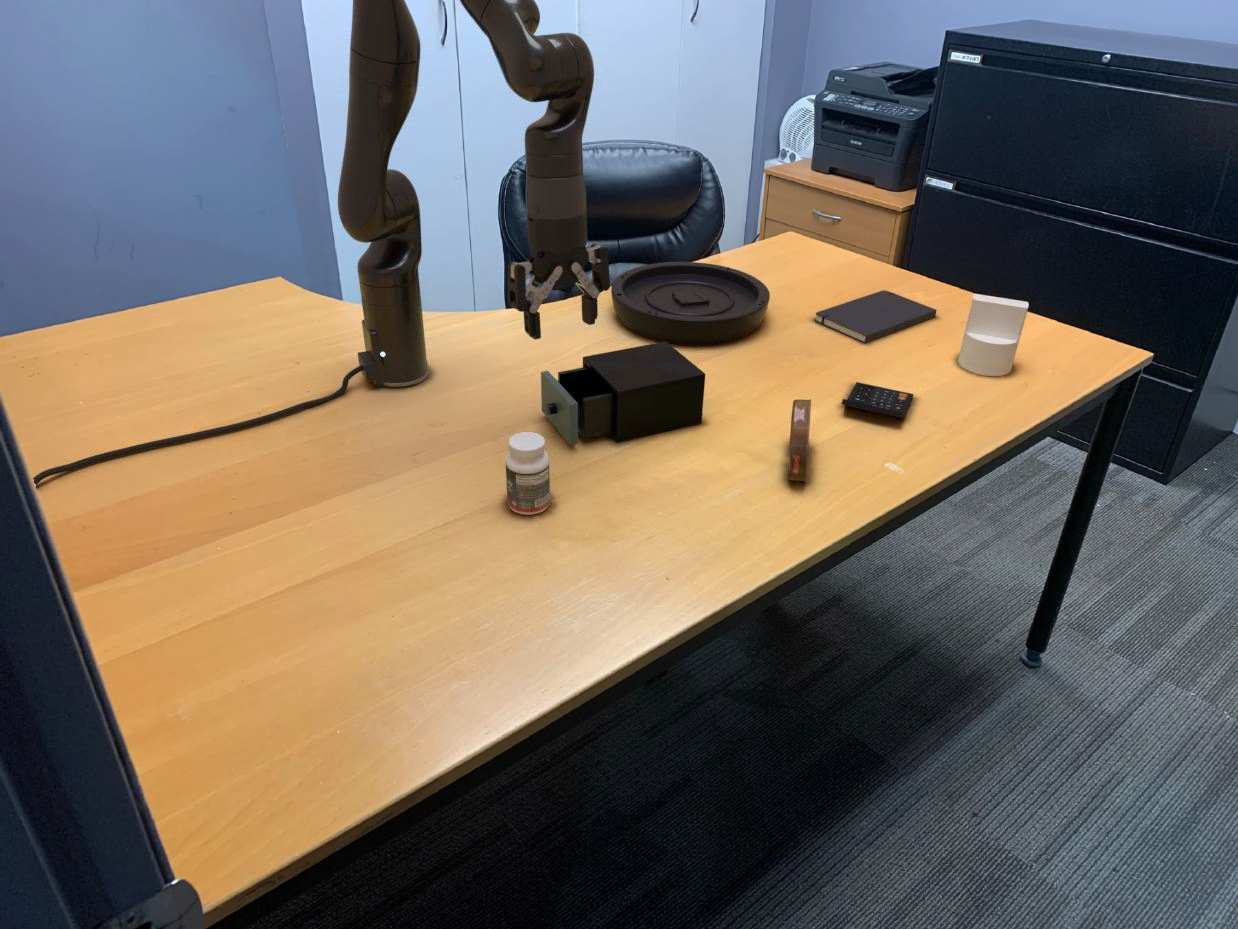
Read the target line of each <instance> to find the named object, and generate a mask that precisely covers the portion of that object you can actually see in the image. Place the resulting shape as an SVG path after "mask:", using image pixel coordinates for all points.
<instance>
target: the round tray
mask: <svg viewBox="0 0 1238 929" xmlns="http://www.w3.org/2000/svg"><path fill="white" fill-rule="evenodd" d="M610 292H611V299H612V305H613V309H614V310H615V313H616V316H617V317H618V318H619V320H620V321H621V323H622V324H623V325H624V326H625V327H626V328H627V329H629V330H630V331H632V332H633V333H636V334H638V335H640V336H642V337H644V338H646V339H651V340H653V341H657V342H665V341H666V342H667V343H668V344H673V345H681V346H711V345H718V344H719V345H720V344H724V343H730V342H734V341H736V340H739V339H742V338H743V337H746V336H748V335H749V334H751V333H752V332H753V331H754V330H756V329H757V328H758V327H759V325H760V324H761V323H762V321H763V319H764V317H765V315H766V312H767V309H768V306H769V303H770V298H771V294H770V291H769V289H768V287H767V285H765V283H764V282H762V281H761V280H760V279H759V278H757V277H756V276H753V275H751V274H749V273H747V272H744V271H741V270H739V269H735V268H733V267H730V266H724V265H719V264H713V263H708V262H707V263H706V262H697V261H695V262H694V261H667V262H666V261H664V262H656V263H649V264H645V265H640V266H636V267H633V268H631V269H629V270H626V271H624V272H622V273H621V274H619V275H618V276H617V277H615V279H614V280H613V282H612V283H611V285H610Z"/></svg>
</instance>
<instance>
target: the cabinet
mask: <svg viewBox="0 0 1238 929" xmlns="http://www.w3.org/2000/svg"><path fill="white" fill-rule="evenodd" d="M583 367H589V368H590V369H591V370H592V371H593V372H594V373H595V374H596V375H597V376H598V377H599V378H600V379H601V380H602V381H603V382H604V383H605V384H606V385H607V386H608V387H609V388H610V389H611V390H612V391H613V392H614V393H615V394H616V401H615V432H610V433H607V434H608V435H609V436H610V438H612V440H614V442H615V443H617V444H618V443H622V442H627V441H632V440H636V439H639V438H644V437H645V438H646V437H649V436H652V435H657V434H663V433H667V432H671V431H676V430H680V429H684V428H688V427H692V426H697V425H701V424H702V420H703V411H704V410H703V409H704V398H705V384H706V373H705V372H704V371H703V370H701V369H700V368H699V367H698V366H697V365H695V363H693V362H692V361H691V360H689V359H688V358H687V357H685V356H684V355H683V354H682V353H681V352H679V351H678V350H677V349H676V348H675V347H674V346H672V345H671V343H667V342H666V341H665V342H661V341H659V342H655V343H650V344H645V345H638V346H633V347H627V348H622V349H618V350H613V351H606V352H600V353H596V354H590V355H584V356H583V357H582V368H583Z"/></svg>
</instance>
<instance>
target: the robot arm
mask: <svg viewBox="0 0 1238 929" xmlns="http://www.w3.org/2000/svg"><path fill="white" fill-rule="evenodd" d="M459 2H460V3H461V6H462V7H463V8H464V10H465V11H466V12H467V14H468V16H470V18H471V19H472V20H473V21H474V23H475V24H476V25H477V27H478V28H479V29H480V30H481V32H482V33H483V35H485V36H486V38H487V39H488V41H489V43H490V46H491V48H492V51H493V54H494V56H495V58H496V60H497V63H498V66H499V69H500V70H501V74H502V77H503V78H504V80H505V82H506V84H507V86H508V87H509V88H510V91H512V92H513V93H514V94H515V95H516V96H517V97H519V98H520V99H522V100H525V101H527V102H530V103H543V102H547V101H548V102H547V106H546V109H545V113H544V114H543V115H542V116H541V117H540V118H538V119H537V120H535V121H534V122H532V123H530V124H528V126H527V127H526V128H525V132H524V160H525V172H526V176H525V178H526V179H525V180H526V181H525V206H526V223H527V239H528V240H527V241H528V247H529V251H530V255H529V259H528V261H521V262H516V261H514V260H511V261H509V262H508V263H507V301H508V302H507V304H508V306H509V307H511V308H513V309H515V310H516V311H518V312H521V313H522V312H523V326H524V331H525V333H526V334H527V335H528V336H529V337H530V338H532V339H533V340H540V339H541V338H542V328H541V313H540V312H539V309H540V307H541V305H542V304H543V301H544V300H546V299H547V298H548V297H549V295H550V293H551V291H559V290H561V289H562V288H572V287H575V285H576V286H577V288H578V289H579V290H580V291H581V292H582V293H583V294H581V296H580V297H581V299H580V300H581V319H582V322H583V323H584V324H586V325H588V326H592V325H595V324H596V320H597V319H598V315H599V314H598V313H599V312H598V311H599V310H598V309H599V308H598V297H599V296H600V294H601V293H603V292H607V291H609V290H610V289H611V279H610V278H611V276H610V263H609V250H608V248H607V247H604V246H603V245H600V244H597V243H592V244H590V247H588V248H587V244H588V218H587V216H588V215H587V213H588V212H587V190H586V189H587V188H586V184H585V176H584V156H583V154H584V152H583V151H584V150H583V135H584V132H585V126H586V122H587V119H588V113H589V108H590V103H591V99H592V94H593V90H594V82H595V64H594V60H593V56H592V52H591V50H590V48H589V46H588V44H587V43H586V41H585V40H584V39H583V38H582V37H581V36H579V35H578V34H576V33H574V32H573V33H572V32H559V33H550V34H540V35H535V34H536V32H537V30H538V28H539V25H540V22H541V21H540V20H541V11H540V8H539V6H538V4H537V2H536V0H459ZM351 19H352V20H351V31H350V43H349V45H350V46H349V63H348V65H349V66H348V67H349V68H348V72H349V73H348V87H349V88H348V100H347V102H348V103H347V114H346V115H347V116H346V129H345V130H346V132H345V143H344V150H343V157H342V162H341V170H340V176H339V181H338V182H339V183H338V191H337V211H338V216H339V220H340V222H341V225H342V227H343V229H344V231H345V232H346V234H348V235H349V236H350V237H351V239H353V240H355V241H357V242H359V243H364V244H365V243H366V244H367V243H369V245H368V247H367V249H366V250H365V251H364V253H363V254H362V255H361V256H360V258H359V259H358V261H357V267H356V268H357V276H358V282H359V291H360V297H361V304H362V305H361V306H362V313H363V319H362V321H361V328H362V334H363V342H364V348H365V349H364V350H365V351H358V352H357V358H358V366H356V367H355V368H353V369H351V370H350V371H349V372H347V373H346V374H345V376H344V377H343V379H342V382H341V387H340V388H338V390H336V391H335V392H333V393H332V394H330V395H328V396H325V397H322V398H317V399H312V400H307V401H304V402H300V403H298V404H296V405H292V406H290V407H286V408H284V409H280V410H278V411H275V412H272V413H268V414H265V415H262V416H258V417H256V418H252V419H248V420H244V421H240V422H236V423H232V424H227V425H224V426H218V427H215V428H210V429H204V430H200V431H197V432H191V433H187V434H186V433H185V434H182V435H177V436H173V437H167V438H162V439H157V440H152V441H149V442H144V443H140V444H135V445H131V446H127V447H122V448H119V449H114V450H111V451H106V452H103V453H102V452H101V453H98V454H96V455H91V456H88V457H85V458H83V459H79V460H76V461H73V462H70V463H67V464H63V465H59V466H55V467H51V468H48V469H45V470H43V471H41V472H40V473H38V474H36V475H35V476H33V477H32V479H34V483H35V484H36V486H37V485H38V484H39V483H40V482H41V481H43V480H44V479H46V478H48V477H52V476H53V475H54V476H55V475H57V474H62V473H64V472H69V471H73V470H75V469H79V468H82V467H84V466H87V465H89V464H91V465H92V464H93V463H96V462H97V463H98V462H101V461H105V460H108V459H112V458H117V457H121V456H125V455H128V454H132V453H137V452H140V451H145V450H149V449H153V448H158V447H163V446H168V445H173V444H178V443H183V442H187V441H193V440H197V439H201V438H205V437H210V436H215V435H218V434H223V433H228V432H233V431H236V430H241V429H244V428H248V427H252V426H256V425H260V424H262V423H266V422H268V421H272V420H275V419H278V418H281V417H284V416H287V415H290V414H292V413H295V412H299V411H301V410H304V409H307V408H311V407H315V406H319V405H322V404H326V403H328V402H330V401H332V400H335V399H337V398H339V397H340V396H342V395H343V394H344V393H345V392H346V391H347V389H348V386H349V382H350V381H351V379H352V378H353V377H355V376H356V375H357V374H359V373H362V375H363V377H364V379H365V381H366V382H367V383H368V382H373V384H374V385H375V386H376V388H380V387H388V388H404V387H405V388H406V387H410V386H414V385H417V384H419V383H421V382H423V381H425V379H427V378H428V376H429V366H428V358H427V347H426V336H425V327H424V318H423V317H424V316H423V307H422V296H421V286H420V275H419V274H420V273H419V265H420V262H421V259H422V254H423V249H422V248H423V247H422V225H421V224H422V222H421V208H420V202H419V197H418V193H417V192H416V188H415V187H414V185H413V183H412V181H411V180H410V179H409V178H408V177H407V175H406V174H404V173H403V172H401V171H400V170H396V169H392V168H389V162H390V157H391V153H392V151H393V148H394V145H395V143H396V141H397V138H398V136H399V134H400V132H401V131H402V128H403V126H404V124H405V122H406V120H407V119H408V116H409V114H410V112H411V110H412V107H413V105H414V102H415V100H416V97H417V92H418V87H419V76H420V67H421V66H420V65H421V54H422V53H421V49H422V46H421V38H420V34H419V31H418V28H417V26H416V22H415V20H414V17H413V16H412V14H411V11H410V9H409V7H408V5H407V3H406V0H352V15H351ZM588 262H590V265H591V266H590V267H591V276H592V279H591V278H590V276H589V275H588V274H587V273H586V272H585V271H584V269H585V268H586V266H587V264H588ZM530 272H531V274H532V277H531V279H530V281H529V282H528V284H527V286H526V280H528V279H529V273H530ZM540 284H541V287H540ZM539 287H540V288H539Z"/></svg>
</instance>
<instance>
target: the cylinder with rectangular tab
mask: <svg viewBox="0 0 1238 929" xmlns="http://www.w3.org/2000/svg"><path fill="white" fill-rule="evenodd" d="M1029 306H1030V304H1029V302H1028V301H1024V300H1018V299H1012V298H1007V297H1006V298H1005V297H998V296H992V295H987V294H981V293H980V294H979V293H974V294H973V296H972V299H971V304H970V308H969V313H968V316H967V321H966V324H965V325H966V326H965V329H964V333H963V336H962V342H961V345H960V349H959V354H958V358H957V363H958V365H959V366H960V367H961V368H963V369H964V370H966V371H967V372H970V373H972V374H976V375H979V376H980V375H981V376H987V377H1001V376H1002V377H1003V376H1005V375H1008V374H1009V373H1011V371H1012V368H1013V365H1014V361H1015V357H1016V354H1017V350H1018V346H1019V342H1020V339H1021V336H1022V332H1023V328H1024V325H1025V321H1026V317H1027V314H1028V310H1029Z"/></svg>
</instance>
